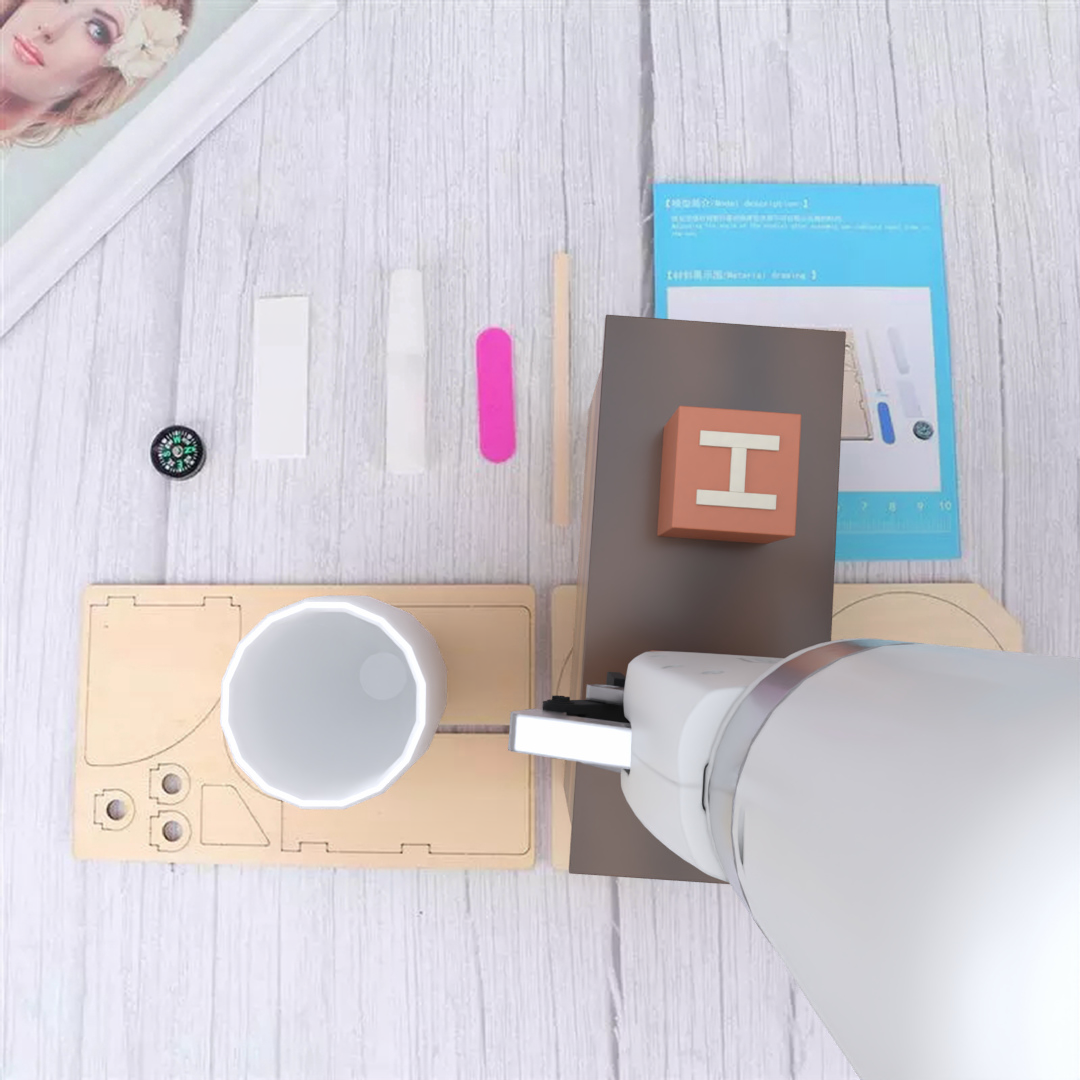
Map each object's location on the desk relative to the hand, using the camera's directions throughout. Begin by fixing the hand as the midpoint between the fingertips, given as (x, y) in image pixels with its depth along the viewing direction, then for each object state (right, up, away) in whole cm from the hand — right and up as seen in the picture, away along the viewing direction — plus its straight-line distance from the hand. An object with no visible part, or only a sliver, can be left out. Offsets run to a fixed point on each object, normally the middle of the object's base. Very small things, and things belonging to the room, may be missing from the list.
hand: (733, 720), depth 38 cm
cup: (-18, -2, +27) cm, 32 cm away
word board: (0, +5, +5) cm, 7 cm away
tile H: (0, +10, +5) cm, 11 cm away
